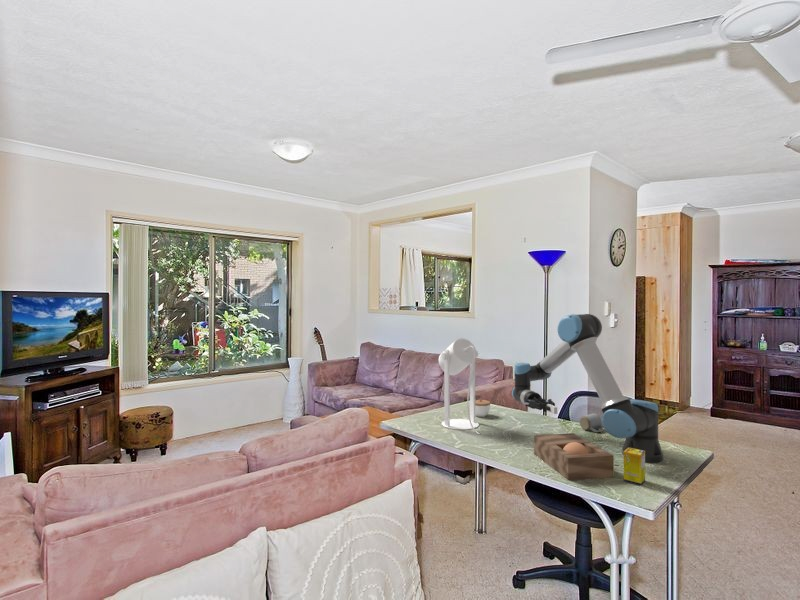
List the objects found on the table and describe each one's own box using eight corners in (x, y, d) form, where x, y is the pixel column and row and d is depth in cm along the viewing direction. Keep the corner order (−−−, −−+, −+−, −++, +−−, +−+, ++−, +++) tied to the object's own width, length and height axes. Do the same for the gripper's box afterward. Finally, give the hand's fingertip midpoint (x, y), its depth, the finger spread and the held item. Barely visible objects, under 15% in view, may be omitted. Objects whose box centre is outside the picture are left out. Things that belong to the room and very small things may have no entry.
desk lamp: (462, 416, 258) (462, 335, 258) (499, 431, 230) (499, 340, 230) (430, 421, 249) (429, 337, 248) (465, 437, 220) (464, 342, 220)
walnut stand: (534, 454, 197) (534, 435, 197) (573, 451, 199) (573, 433, 199) (568, 480, 169) (568, 458, 169) (613, 476, 172) (613, 455, 172)
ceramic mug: (578, 428, 234) (578, 413, 234) (590, 426, 237) (590, 411, 237) (595, 434, 224) (595, 418, 224) (607, 432, 228) (607, 416, 228)
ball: (596, 446, 178) (592, 470, 180) (573, 435, 186) (570, 458, 188) (581, 452, 172) (577, 477, 174) (558, 441, 180) (555, 464, 182)
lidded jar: (469, 413, 265) (469, 396, 265) (487, 412, 266) (487, 396, 266) (473, 418, 255) (473, 401, 255) (492, 417, 255) (492, 400, 255)
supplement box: (627, 476, 172) (627, 447, 172) (645, 480, 168) (645, 450, 168) (622, 481, 168) (622, 451, 168) (641, 485, 164) (641, 454, 164)
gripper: (544, 406, 220) (570, 418, 197) (518, 407, 218) (541, 420, 195) (544, 390, 220) (569, 401, 197) (518, 391, 218) (541, 402, 195)
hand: (555, 410), depth 196 cm, fingers closed
